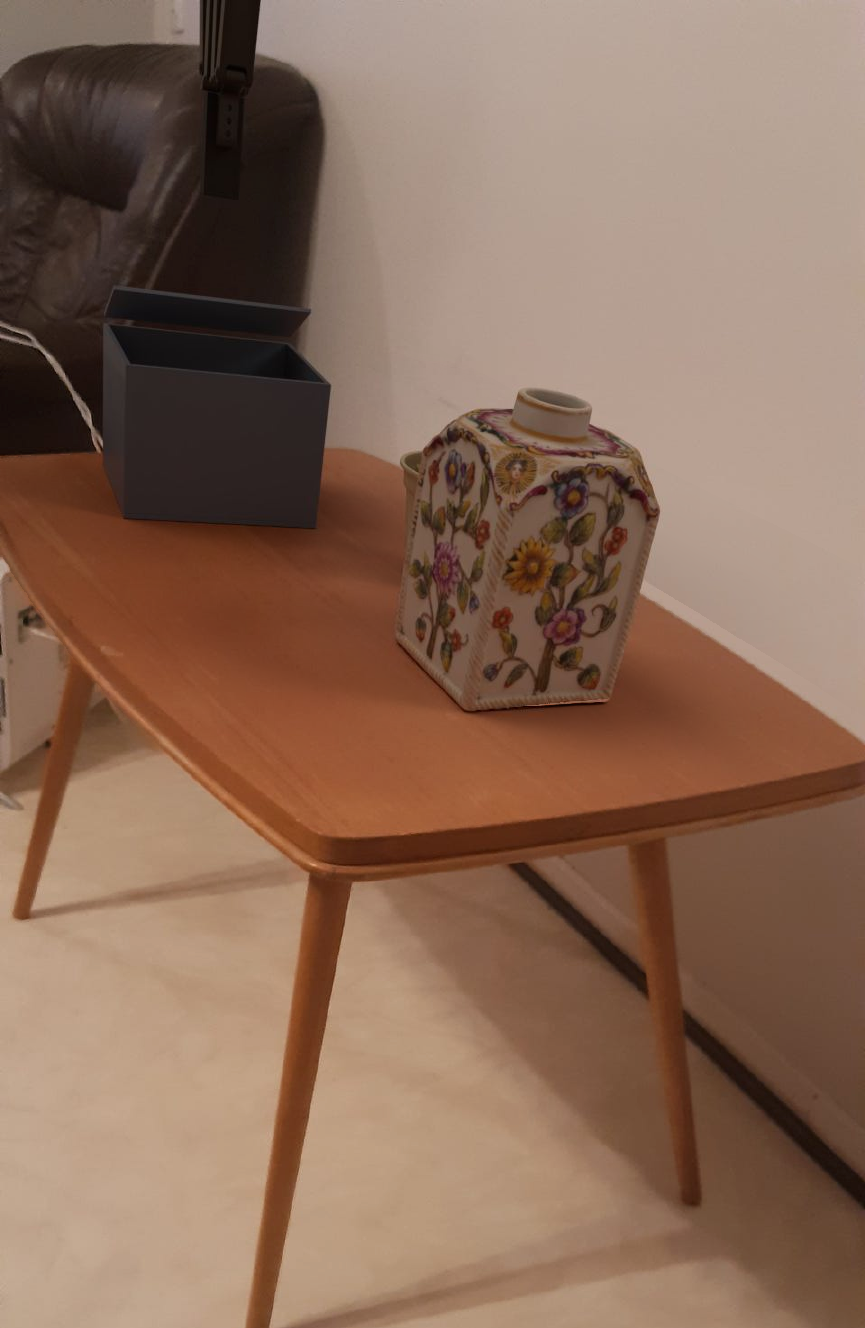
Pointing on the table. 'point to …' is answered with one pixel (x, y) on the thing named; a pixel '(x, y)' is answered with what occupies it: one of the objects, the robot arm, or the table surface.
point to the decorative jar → (525, 554)
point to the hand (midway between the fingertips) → (219, 195)
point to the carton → (212, 428)
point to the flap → (204, 312)
